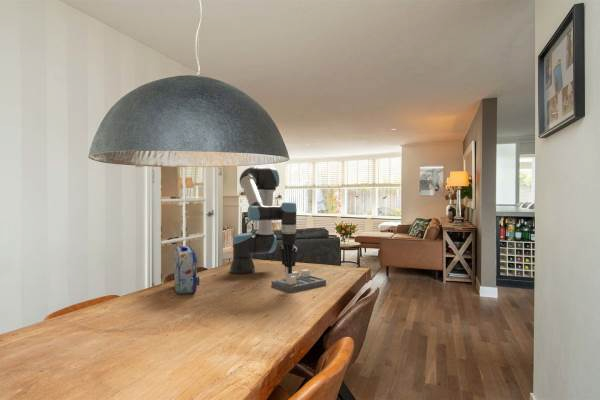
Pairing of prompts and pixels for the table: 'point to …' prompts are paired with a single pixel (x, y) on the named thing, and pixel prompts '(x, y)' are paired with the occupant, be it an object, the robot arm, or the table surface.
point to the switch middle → (295, 274)
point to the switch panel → (299, 283)
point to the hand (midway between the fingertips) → (288, 279)
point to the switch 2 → (305, 273)
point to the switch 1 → (291, 280)
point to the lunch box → (185, 270)
